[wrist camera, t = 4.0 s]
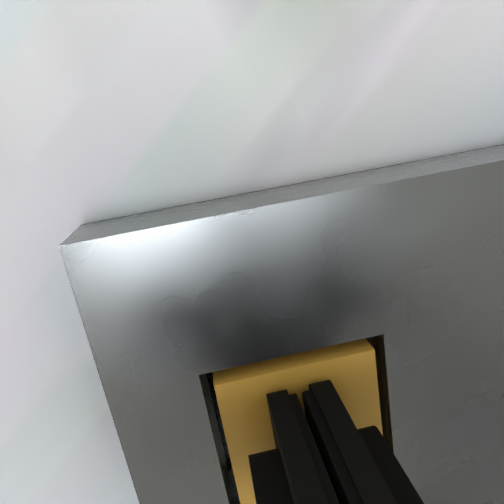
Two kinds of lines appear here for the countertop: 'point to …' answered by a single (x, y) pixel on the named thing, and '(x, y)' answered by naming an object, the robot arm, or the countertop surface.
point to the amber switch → (295, 381)
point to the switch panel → (307, 316)
